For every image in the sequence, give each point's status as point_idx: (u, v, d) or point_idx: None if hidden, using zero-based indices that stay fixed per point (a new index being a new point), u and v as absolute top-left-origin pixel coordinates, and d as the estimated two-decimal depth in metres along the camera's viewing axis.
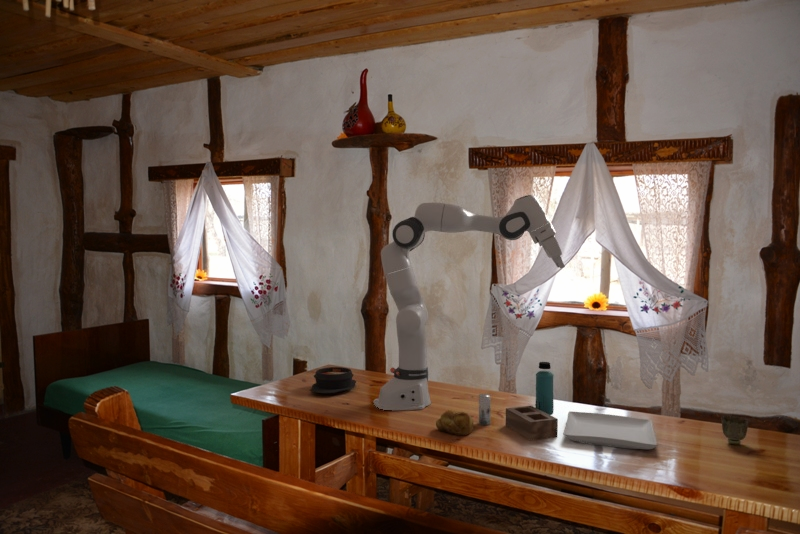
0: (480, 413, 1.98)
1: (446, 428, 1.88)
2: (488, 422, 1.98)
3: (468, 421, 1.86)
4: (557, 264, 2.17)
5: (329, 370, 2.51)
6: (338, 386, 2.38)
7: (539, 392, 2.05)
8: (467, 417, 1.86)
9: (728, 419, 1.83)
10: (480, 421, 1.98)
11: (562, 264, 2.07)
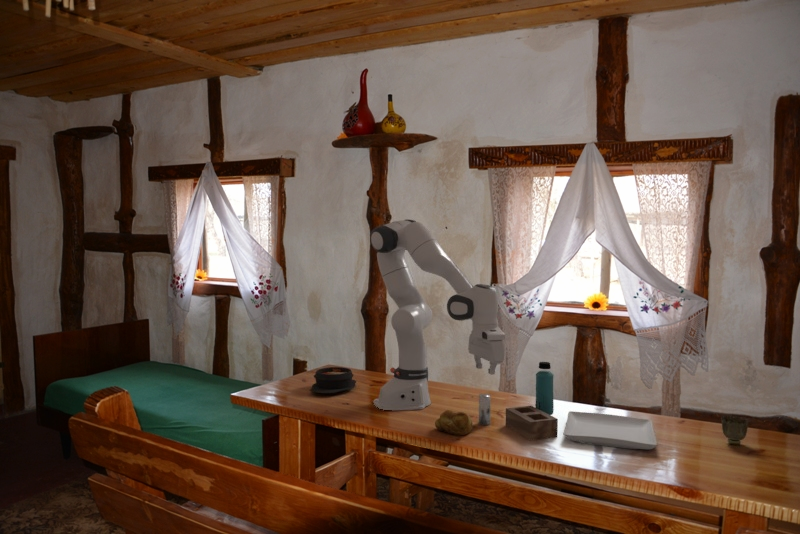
0: (480, 413, 1.98)
1: (445, 428, 1.88)
2: (488, 422, 1.98)
3: (467, 421, 1.86)
4: (478, 365, 2.02)
5: (329, 370, 2.51)
6: (338, 386, 2.38)
7: (539, 392, 2.05)
8: (466, 417, 1.85)
9: (728, 419, 1.83)
10: (480, 421, 1.98)
11: (493, 371, 1.93)
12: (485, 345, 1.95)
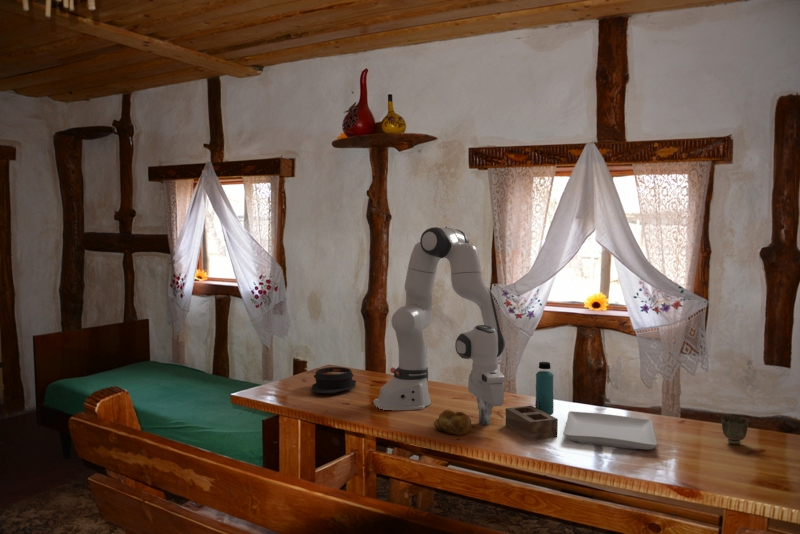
0: (480, 413, 1.98)
1: (443, 428, 1.88)
2: (488, 422, 1.98)
3: (465, 421, 1.85)
4: None
5: (329, 370, 2.51)
6: (338, 386, 2.38)
7: (539, 392, 2.05)
8: (464, 417, 1.85)
9: (728, 419, 1.83)
10: (480, 421, 1.98)
11: (490, 411, 1.96)
12: (485, 387, 1.95)
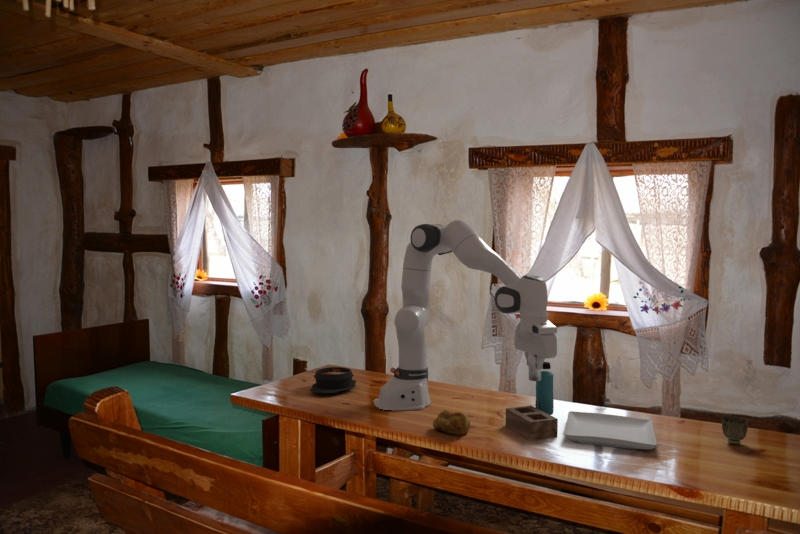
0: (530, 368, 1.86)
1: (442, 428, 1.88)
2: (539, 377, 1.86)
3: (464, 421, 1.85)
4: None
5: (329, 370, 2.51)
6: (338, 386, 2.38)
7: (539, 392, 2.05)
8: (463, 417, 1.85)
9: (728, 419, 1.83)
10: (530, 377, 1.87)
11: (541, 365, 1.84)
12: (535, 340, 1.84)
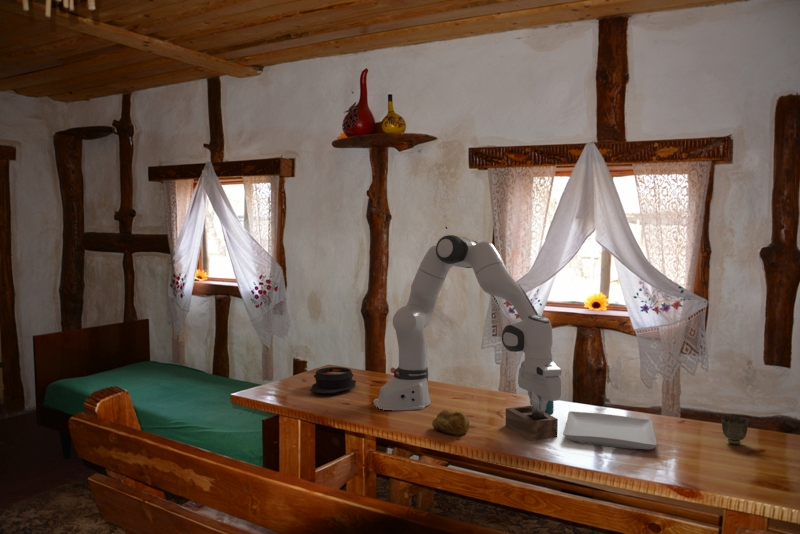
0: (534, 408, 1.86)
1: (441, 428, 1.88)
2: (542, 418, 1.86)
3: (463, 421, 1.85)
4: None
5: (329, 370, 2.51)
6: (338, 386, 2.38)
7: None
8: (462, 417, 1.85)
9: (728, 419, 1.83)
10: (534, 417, 1.86)
11: (545, 406, 1.84)
12: (539, 381, 1.84)
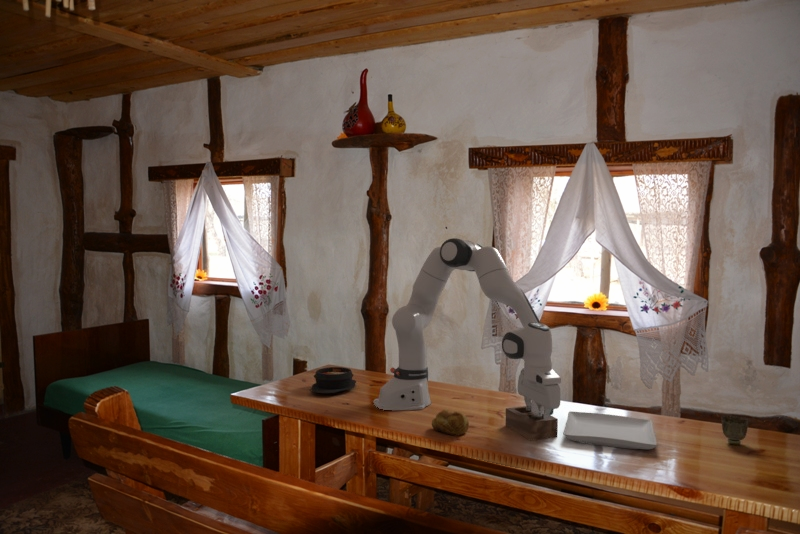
0: (533, 417, 1.86)
1: (440, 428, 1.88)
2: None
3: (462, 421, 1.85)
4: (529, 408, 1.91)
5: (329, 370, 2.51)
6: (338, 386, 2.38)
7: None
8: (461, 417, 1.85)
9: (728, 419, 1.83)
10: None
11: (547, 416, 1.82)
12: (539, 388, 1.84)
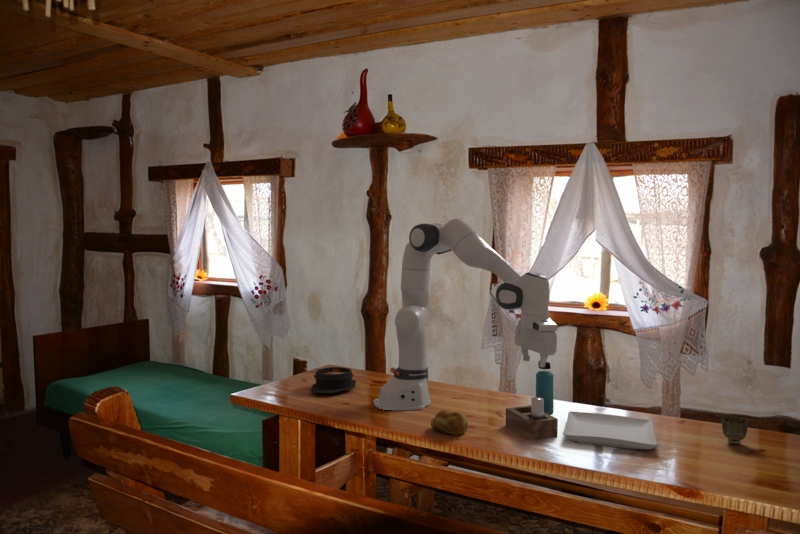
0: (533, 417, 1.87)
1: (439, 427, 1.88)
2: None
3: (460, 421, 1.85)
4: (526, 357, 1.92)
5: (329, 370, 2.51)
6: (338, 386, 2.38)
7: (539, 392, 2.05)
8: (459, 417, 1.85)
9: (728, 419, 1.83)
10: None
11: (544, 363, 1.84)
12: (535, 336, 1.85)
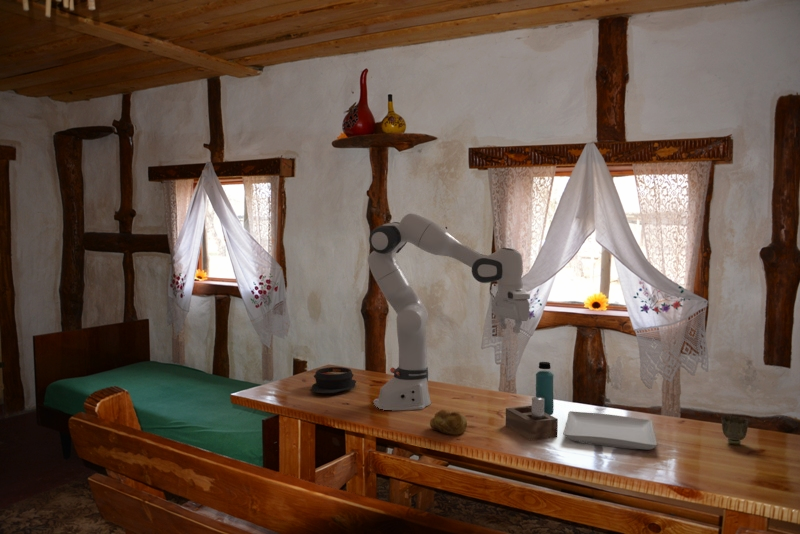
0: (533, 417, 1.87)
1: (438, 427, 1.88)
2: None
3: (459, 421, 1.85)
4: (503, 325, 2.11)
5: (329, 370, 2.51)
6: (338, 386, 2.38)
7: (539, 392, 2.05)
8: (458, 417, 1.85)
9: (728, 419, 1.83)
10: None
11: (518, 329, 2.03)
12: (510, 305, 2.04)
